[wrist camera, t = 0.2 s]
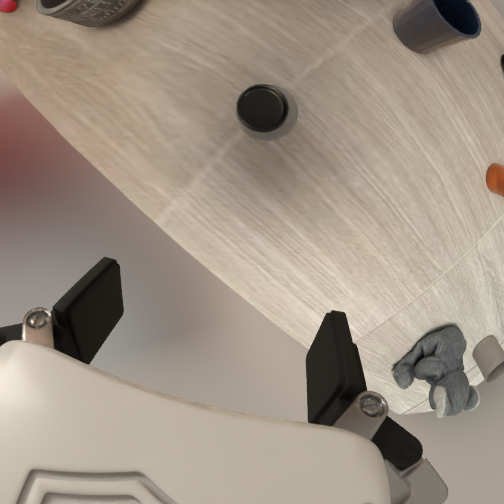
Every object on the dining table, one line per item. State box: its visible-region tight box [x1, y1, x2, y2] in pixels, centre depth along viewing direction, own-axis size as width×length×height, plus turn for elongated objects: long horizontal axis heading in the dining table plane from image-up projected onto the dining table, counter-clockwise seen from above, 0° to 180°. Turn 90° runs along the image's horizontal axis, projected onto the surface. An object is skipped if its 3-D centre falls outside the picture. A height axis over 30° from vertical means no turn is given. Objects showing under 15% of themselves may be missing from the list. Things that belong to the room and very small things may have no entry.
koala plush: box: [393, 327, 480, 418], centre depth 43 cm, size 17×18×20 cm
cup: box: [473, 335, 504, 382], centre depth 46 cm, size 8×8×10 cm
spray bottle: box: [235, 82, 298, 141], centre depth 26 cm, size 6×6×20 cm
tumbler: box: [393, 0, 481, 54], centre depth 19 cm, size 8×8×13 cm
